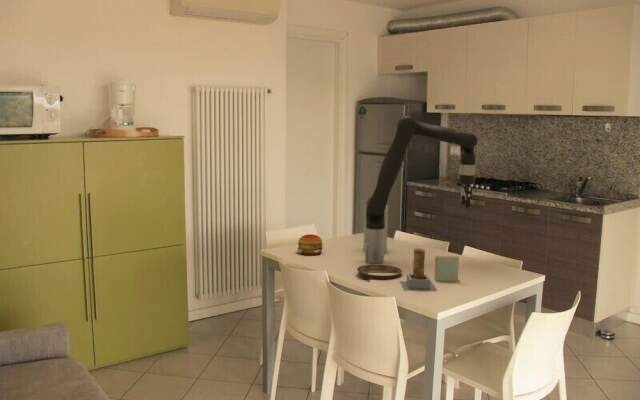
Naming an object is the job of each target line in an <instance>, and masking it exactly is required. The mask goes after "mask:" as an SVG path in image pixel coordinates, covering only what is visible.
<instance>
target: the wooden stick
mask: <svg viewBox="0 0 640 400" xmlns="http://www.w3.org/2000/svg"><path fill="white" fill-rule="evenodd" d="M425 255H426V251H425V248H414V249H413V265H412V266H413V271H412V274H413V279H424V274H425V259H426V256H425Z"/></svg>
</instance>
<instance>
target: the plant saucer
mask: <svg viewBox="0 0 640 400" xmlns="http://www.w3.org/2000/svg"><path fill="white" fill-rule="evenodd" d="M356 270H357V272H358V274H359V275H360V276H361V277H362V278H364V279H367V280H371V279H373V280H391V279H396V278H398V277H399V276H400V275H401V274H402V272H403V270H402V269H401V268H399V267H396V266H393V265H386V264H385V265H384V264H366V265H361V266H358V267H357V268H356ZM376 274H377V275H376ZM378 274H386V275H378ZM387 274H388V275H387Z"/></svg>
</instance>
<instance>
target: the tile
mask: <svg viewBox="0 0 640 400" xmlns="http://www.w3.org/2000/svg"><path fill="white" fill-rule="evenodd" d="M434 257H435V258H434V273H433V274H434V277H433V279H434V281H435V282H458V281H459V267H460V266H459V263H460V256H459V255H455V254H453V255H451V254H450V255H445V254H444V255H443V254H442V255H441V254H439V255H437V254H435V255H434Z"/></svg>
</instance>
